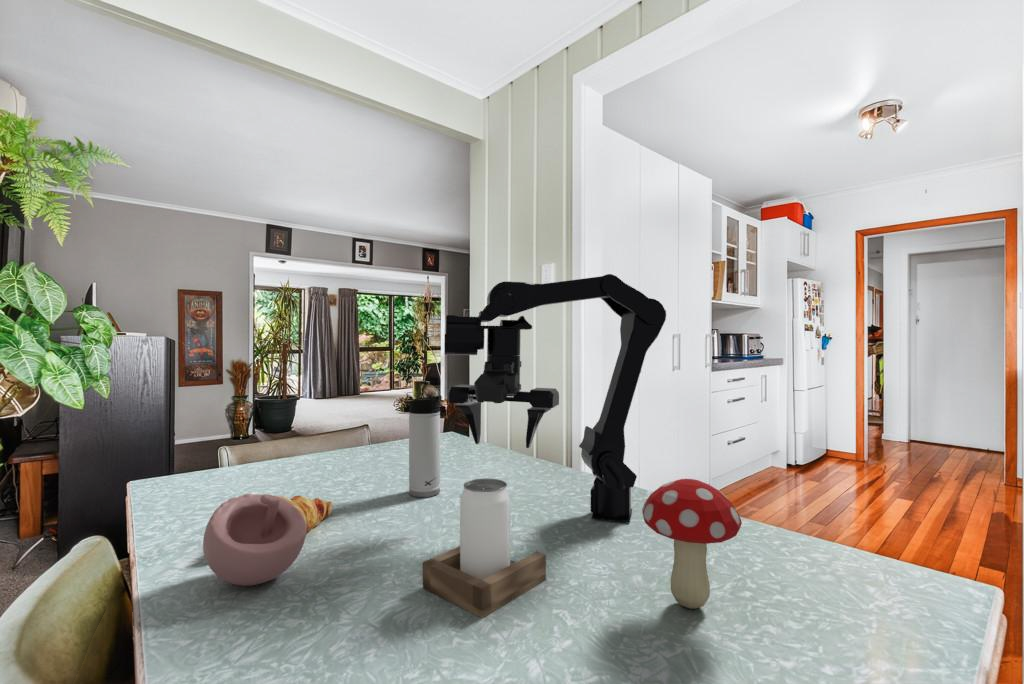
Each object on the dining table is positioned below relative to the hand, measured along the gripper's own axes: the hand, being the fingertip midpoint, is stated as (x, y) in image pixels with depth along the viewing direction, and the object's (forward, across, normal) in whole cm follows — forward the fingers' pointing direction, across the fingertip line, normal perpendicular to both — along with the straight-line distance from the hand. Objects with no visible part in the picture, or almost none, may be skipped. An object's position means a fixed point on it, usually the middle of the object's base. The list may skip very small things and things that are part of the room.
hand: (502, 445), depth 87 cm
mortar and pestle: (+14, -24, -29) cm, 41 cm away
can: (+13, +5, -22) cm, 25 cm away
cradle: (+13, +5, -22) cm, 26 cm away
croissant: (+14, -32, -16) cm, 38 cm away
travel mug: (+14, -20, +11) cm, 26 cm away
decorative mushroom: (+13, +30, -20) cm, 38 cm away
